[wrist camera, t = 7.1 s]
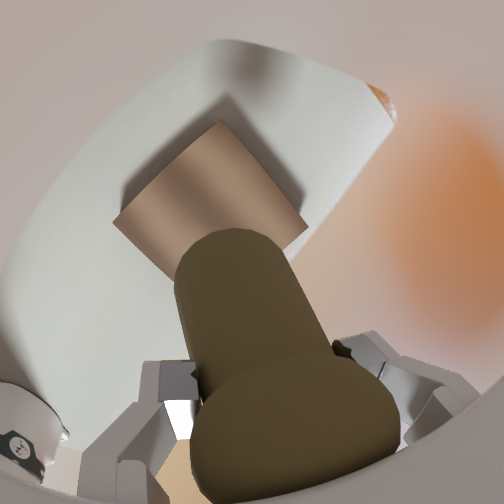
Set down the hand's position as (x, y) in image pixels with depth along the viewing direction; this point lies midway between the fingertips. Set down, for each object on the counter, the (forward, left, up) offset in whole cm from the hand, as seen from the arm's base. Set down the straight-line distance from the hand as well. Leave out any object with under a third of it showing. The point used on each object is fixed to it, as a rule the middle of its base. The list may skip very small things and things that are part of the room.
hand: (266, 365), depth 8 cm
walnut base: (0, 0, -21) cm, 21 cm away
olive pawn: (0, 0, -7) cm, 7 cm away
